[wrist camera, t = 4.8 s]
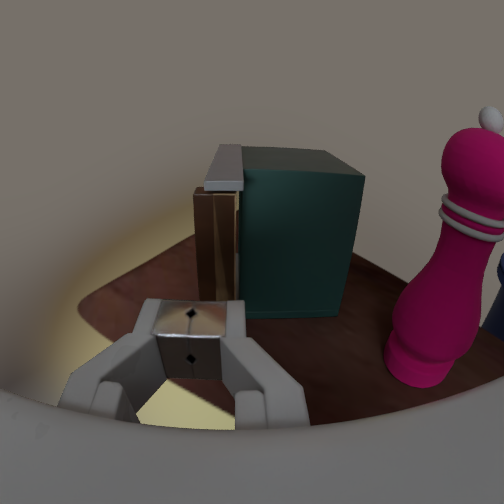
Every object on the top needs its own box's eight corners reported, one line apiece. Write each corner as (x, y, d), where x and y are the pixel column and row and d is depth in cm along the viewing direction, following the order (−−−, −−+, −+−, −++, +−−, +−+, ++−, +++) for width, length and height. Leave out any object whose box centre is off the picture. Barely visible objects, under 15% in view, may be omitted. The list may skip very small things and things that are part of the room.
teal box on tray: (312, 257, 36) (325, 148, 30) (350, 347, 23) (390, 189, 17) (220, 257, 35) (219, 144, 29) (212, 352, 22) (203, 180, 16)
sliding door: (235, 287, 28) (236, 167, 23) (235, 339, 22) (236, 193, 17) (209, 287, 28) (205, 167, 23) (203, 339, 22) (192, 193, 17)
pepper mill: (435, 408, 16) (551, 120, 7) (361, 365, 21) (427, 82, 12) (459, 354, 21) (535, 129, 11) (397, 321, 25) (449, 101, 16)
